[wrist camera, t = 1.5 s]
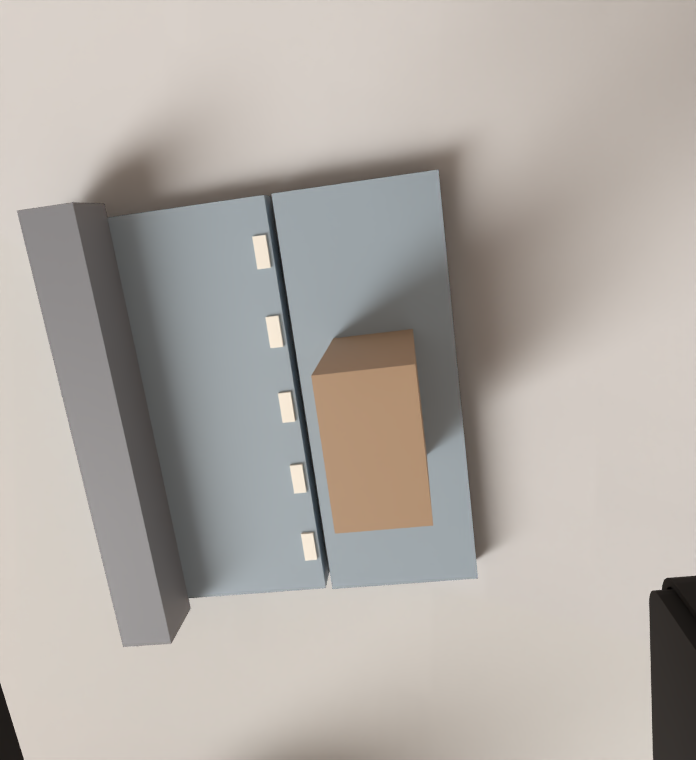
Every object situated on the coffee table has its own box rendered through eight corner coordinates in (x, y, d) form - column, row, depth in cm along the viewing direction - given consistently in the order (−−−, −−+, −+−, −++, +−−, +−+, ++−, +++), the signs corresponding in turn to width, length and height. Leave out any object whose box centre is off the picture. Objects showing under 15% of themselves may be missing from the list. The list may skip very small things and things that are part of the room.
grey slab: (436, 171, 24) (449, 153, 17) (475, 563, 28) (498, 680, 21) (277, 194, 25) (227, 185, 18) (335, 573, 28) (312, 689, 21)
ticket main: (268, 182, 25) (245, 176, 21) (330, 583, 29) (319, 634, 25) (46, 214, 26) (-11, 214, 22) (135, 597, 30) (99, 648, 26)
